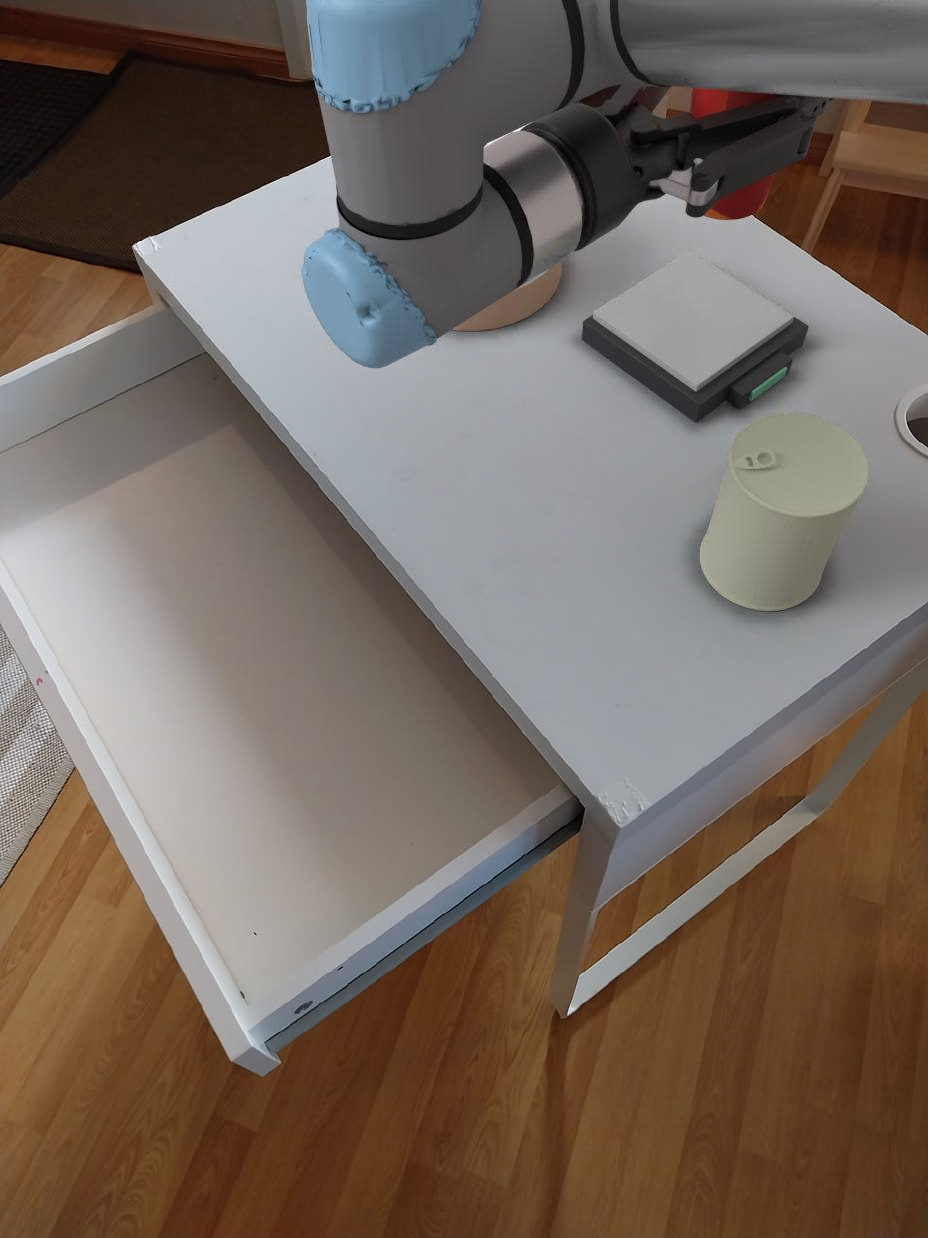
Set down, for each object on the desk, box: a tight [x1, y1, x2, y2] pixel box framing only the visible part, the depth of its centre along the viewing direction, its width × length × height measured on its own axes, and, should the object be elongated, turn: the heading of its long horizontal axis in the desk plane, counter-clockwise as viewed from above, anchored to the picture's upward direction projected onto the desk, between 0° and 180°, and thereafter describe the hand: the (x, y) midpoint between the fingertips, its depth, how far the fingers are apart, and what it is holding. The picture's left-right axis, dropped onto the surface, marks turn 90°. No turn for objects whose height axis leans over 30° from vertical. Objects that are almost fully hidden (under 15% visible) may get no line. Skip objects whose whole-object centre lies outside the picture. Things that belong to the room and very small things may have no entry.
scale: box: [581, 250, 810, 424], centre depth 83 cm, size 16×14×3 cm
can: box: [699, 411, 870, 612], centre depth 67 cm, size 9×9×12 cm
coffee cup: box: [684, 88, 779, 221], centre depth 62 cm, size 8×8×15 cm
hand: (798, 46), depth 62 cm, fingers closed on coffee cup, 7 cm apart
